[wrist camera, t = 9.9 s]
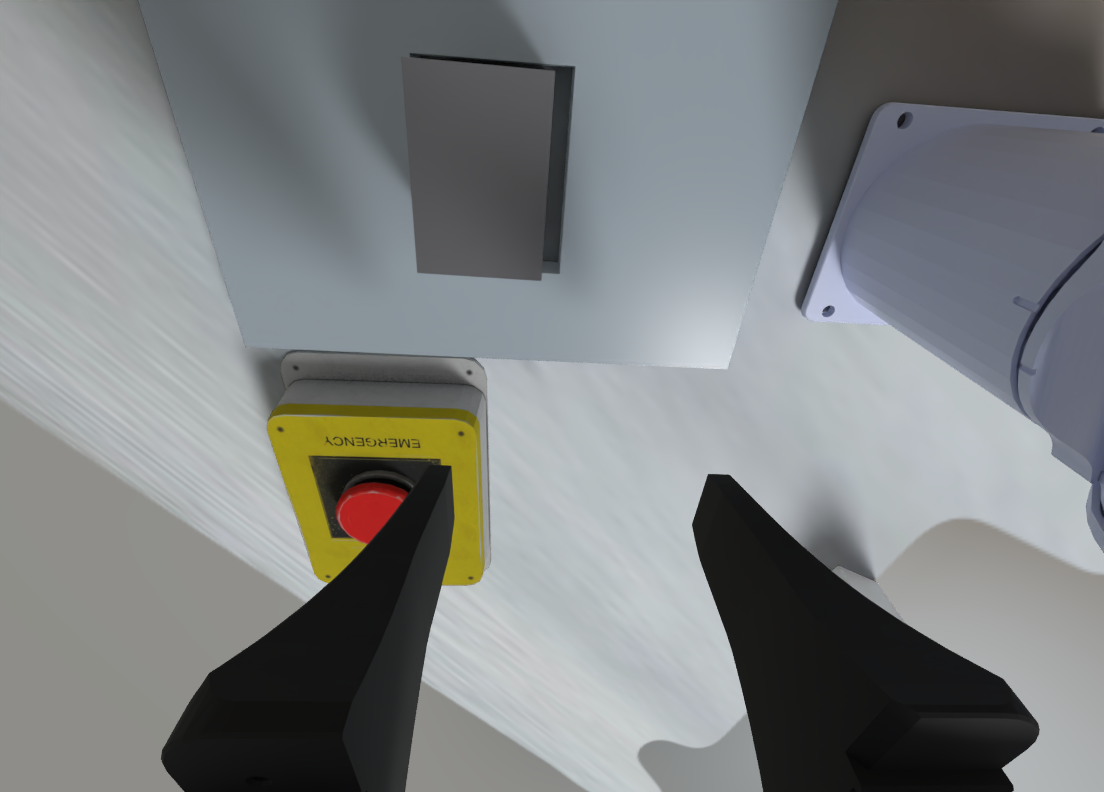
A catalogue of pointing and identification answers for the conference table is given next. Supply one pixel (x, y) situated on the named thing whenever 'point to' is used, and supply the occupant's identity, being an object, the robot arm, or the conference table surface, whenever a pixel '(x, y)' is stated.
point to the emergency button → (381, 450)
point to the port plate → (589, 183)
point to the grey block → (478, 166)
